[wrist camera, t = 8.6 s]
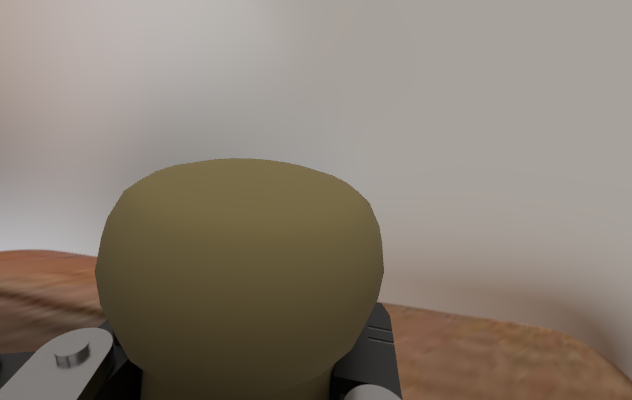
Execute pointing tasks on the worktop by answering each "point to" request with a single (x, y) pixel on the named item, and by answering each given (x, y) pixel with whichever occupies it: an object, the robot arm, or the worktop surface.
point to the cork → (239, 279)
